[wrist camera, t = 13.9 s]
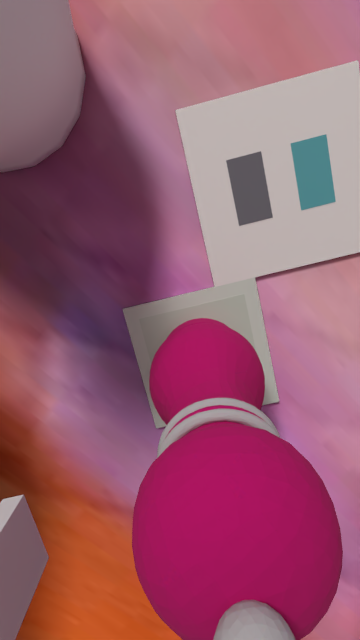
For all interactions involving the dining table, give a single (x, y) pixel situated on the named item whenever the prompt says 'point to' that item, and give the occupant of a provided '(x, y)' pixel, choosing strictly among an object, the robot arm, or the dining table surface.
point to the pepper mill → (229, 501)
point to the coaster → (214, 303)
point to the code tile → (277, 173)
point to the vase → (37, 80)
